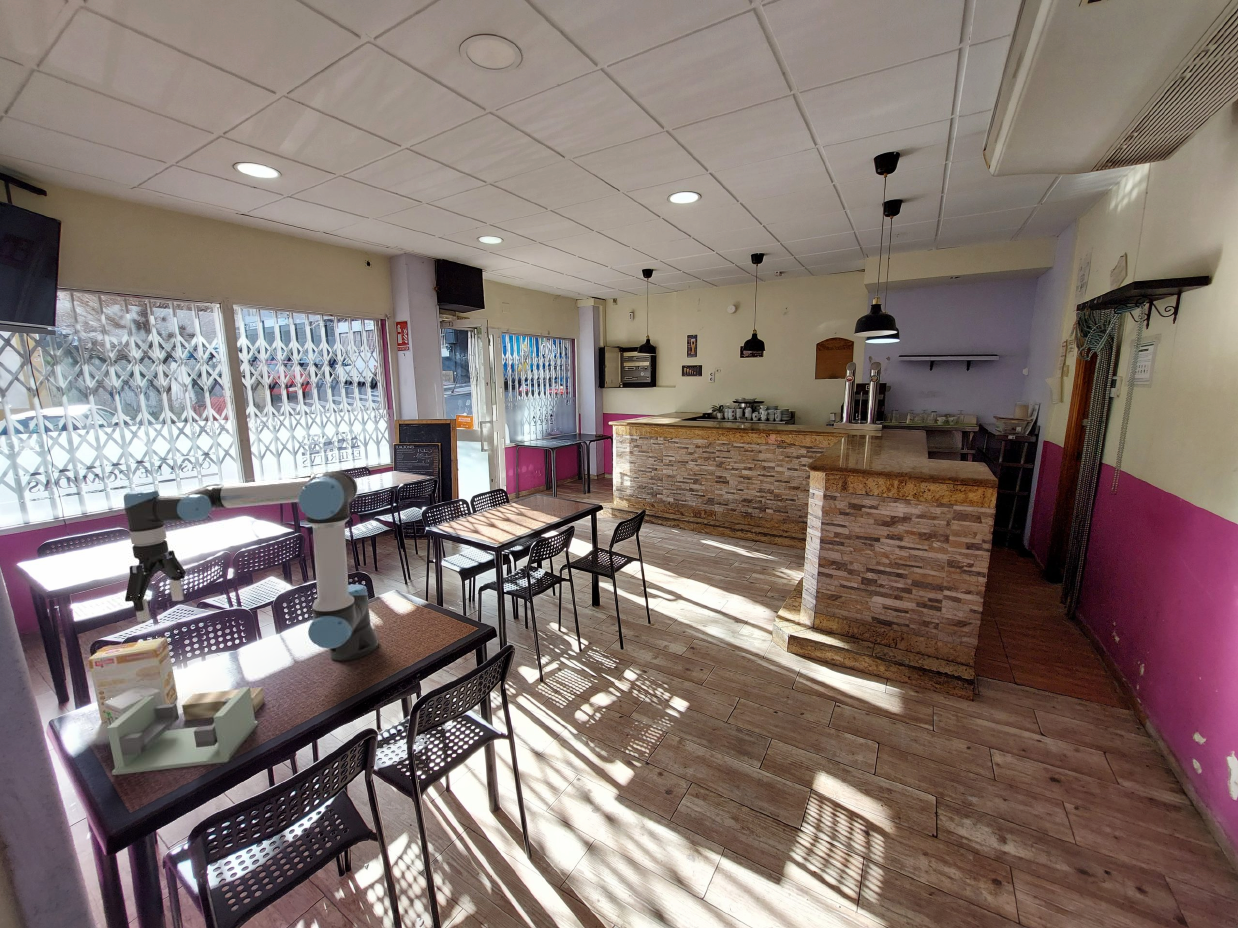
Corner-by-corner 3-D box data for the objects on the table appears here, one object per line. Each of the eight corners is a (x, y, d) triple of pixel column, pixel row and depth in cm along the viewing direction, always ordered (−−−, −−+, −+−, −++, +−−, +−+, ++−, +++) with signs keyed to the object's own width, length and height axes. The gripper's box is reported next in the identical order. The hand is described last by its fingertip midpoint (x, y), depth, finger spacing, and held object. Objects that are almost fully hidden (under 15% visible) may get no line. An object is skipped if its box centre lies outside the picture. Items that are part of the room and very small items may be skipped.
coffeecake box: (178, 696, 151) (167, 636, 148) (167, 710, 144) (155, 648, 141) (115, 707, 146) (102, 646, 143) (100, 723, 139) (86, 659, 136)
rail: (264, 702, 148) (262, 686, 147) (255, 713, 143) (253, 697, 142) (196, 709, 145) (193, 693, 144) (184, 720, 140) (181, 704, 139)
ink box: (110, 741, 132) (102, 701, 130) (149, 720, 140) (142, 682, 138) (129, 749, 129) (121, 708, 127) (168, 727, 137) (161, 689, 135)
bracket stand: (257, 723, 138) (251, 684, 136) (226, 761, 125) (219, 718, 123) (156, 734, 134) (148, 694, 132) (112, 774, 121) (103, 730, 119)
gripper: (166, 530, 158) (177, 593, 162) (97, 557, 134) (112, 631, 137) (193, 529, 159) (203, 591, 163) (129, 556, 135) (143, 629, 138)
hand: (161, 610), depth 150 cm, fingers open, 13 cm apart
